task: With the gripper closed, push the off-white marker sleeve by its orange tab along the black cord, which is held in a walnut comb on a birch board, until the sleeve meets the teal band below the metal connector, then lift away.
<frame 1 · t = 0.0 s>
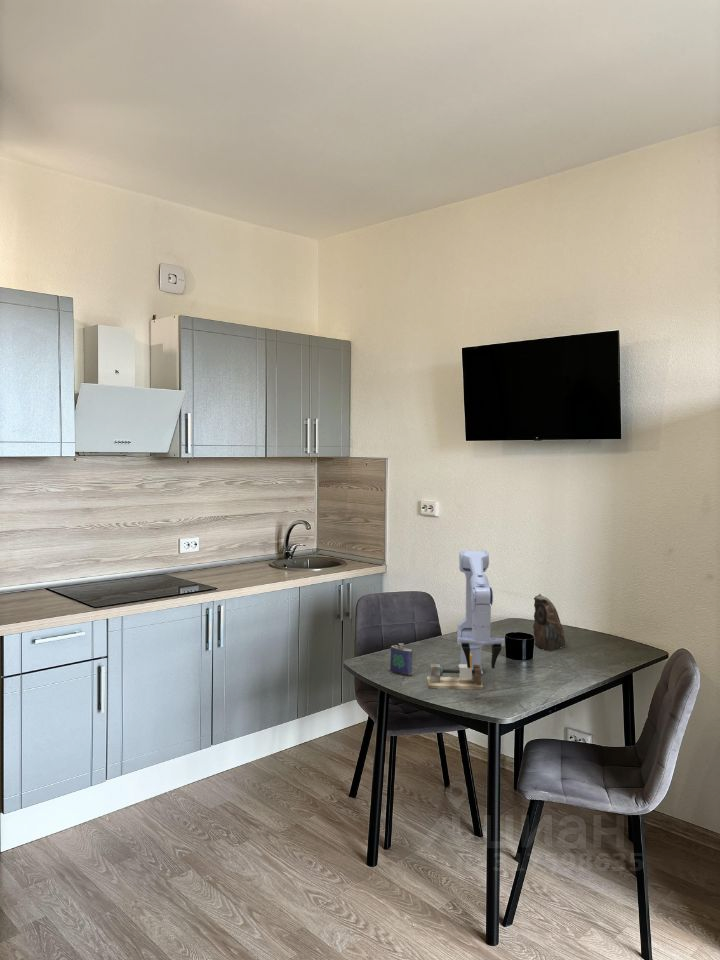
hand: (480, 667, 232), 10 cm above the table, tool pointing down, fingers open, 7 cm apart
flask: (400, 673, 257), on the table
owl: (549, 647, 292), on the table
sleeve: (465, 665, 245), point 6 cm above the table, slide at 0.0 cm
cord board: (454, 684, 245), on the table
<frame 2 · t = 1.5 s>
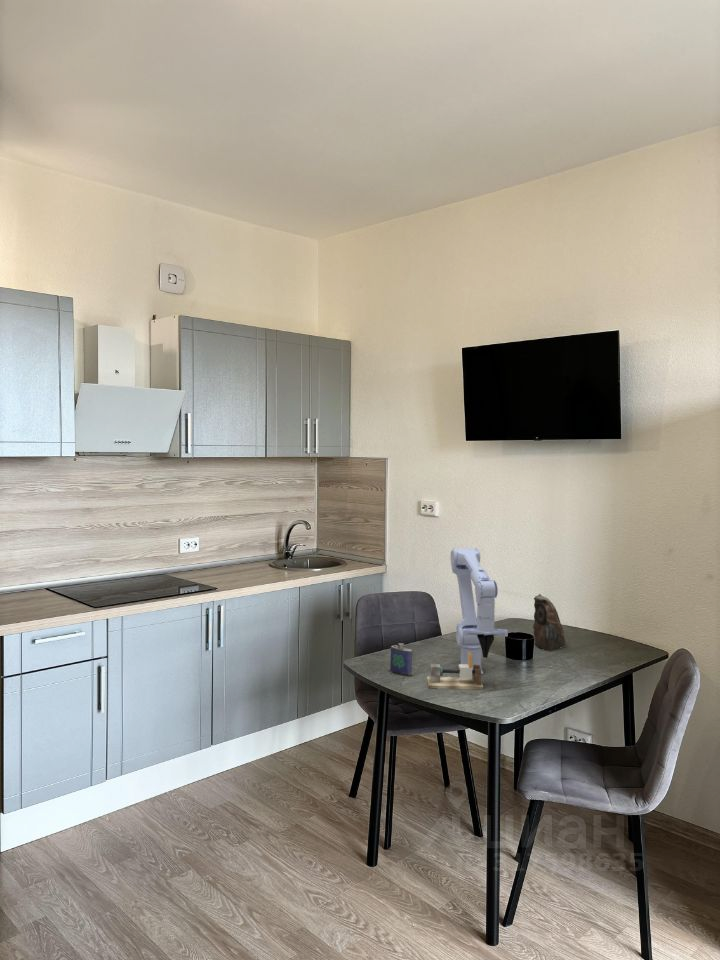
hand: (485, 656, 244), 10 cm above the table, tool pointing down, fingers closed
nothing on the table moved.
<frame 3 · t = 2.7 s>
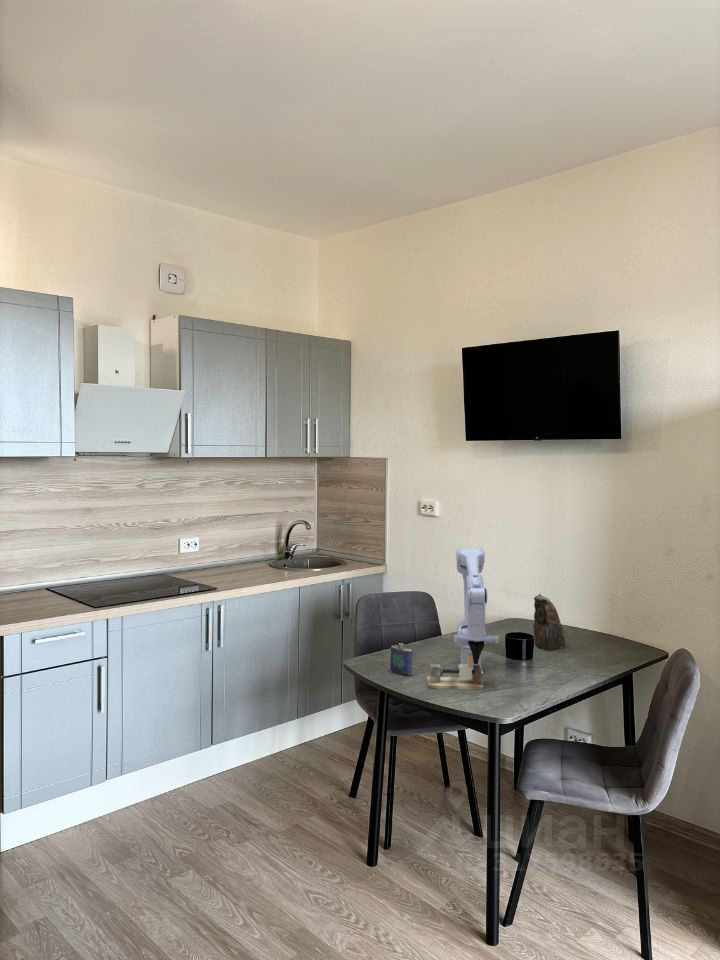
hand: (475, 663, 245), 7 cm above the table, tool pointing down, fingers closed
sleeve: (465, 665, 245), point 6 cm above the table, slide at 0.1 cm, touching gripper
everything else where it was.
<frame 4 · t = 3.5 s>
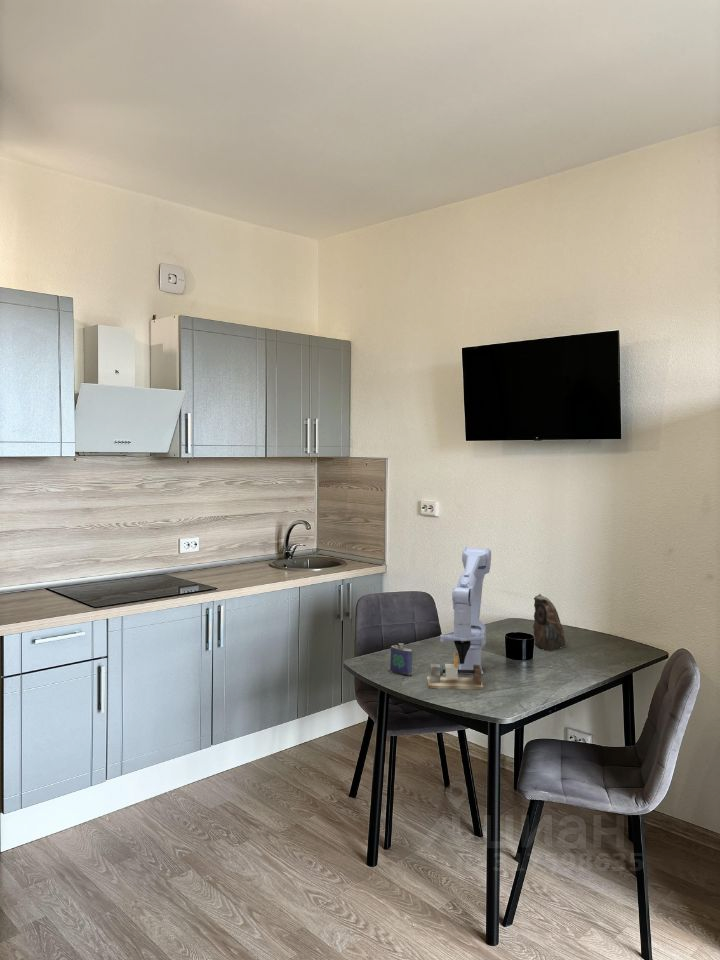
hand: (461, 663, 245), 7 cm above the table, tool pointing down, fingers closed
sleeve: (451, 665, 245), point 7 cm above the table, slide at 4.7 cm, touching gripper
everything else where it was.
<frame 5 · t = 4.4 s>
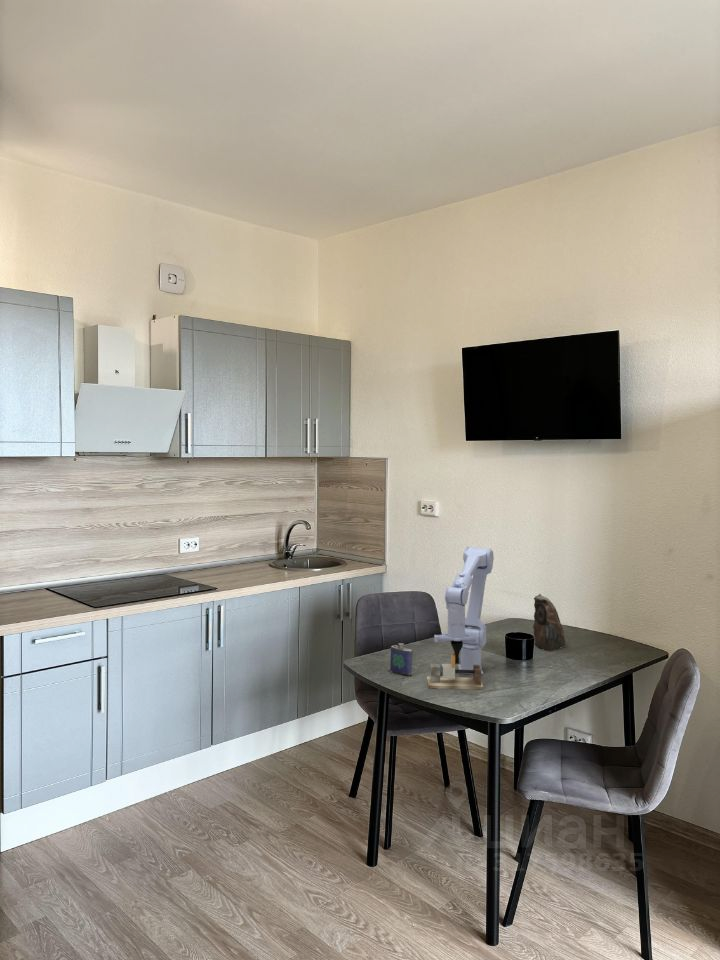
hand: (456, 663, 245), 7 cm above the table, tool pointing down, fingers closed, pressing on sleeve
sleeve: (448, 665, 245), point 7 cm above the table, slide at 5.6 cm, touching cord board, gripper
everything else where it was.
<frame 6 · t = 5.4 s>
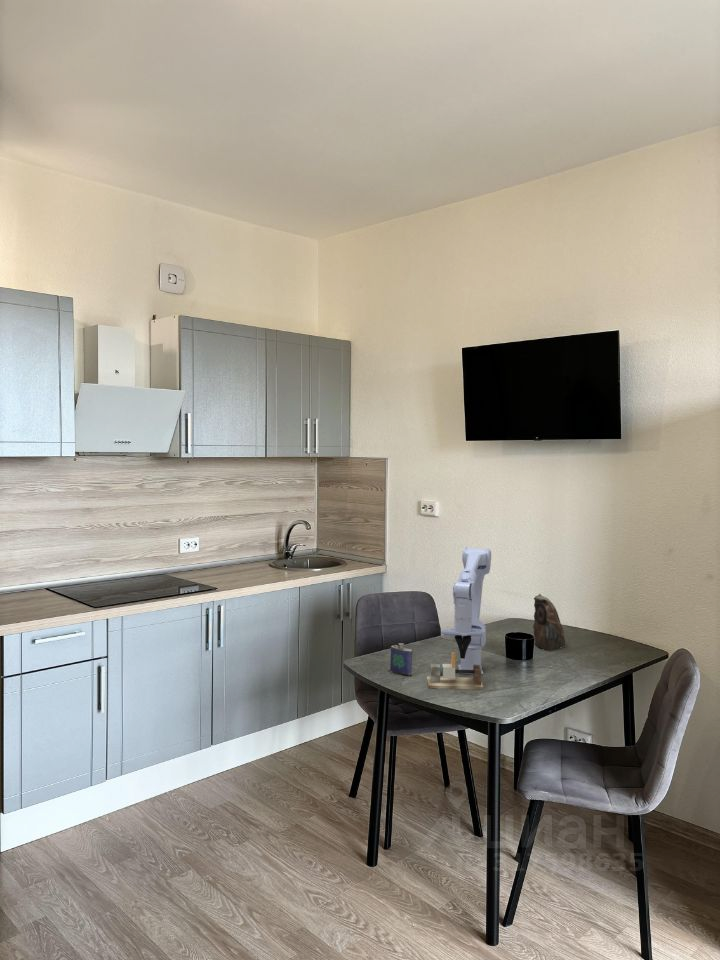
hand: (462, 657, 245), 9 cm above the table, tool pointing down, fingers closed
sleeve: (448, 665, 245), point 7 cm above the table, slide at 5.6 cm
everything else where it was.
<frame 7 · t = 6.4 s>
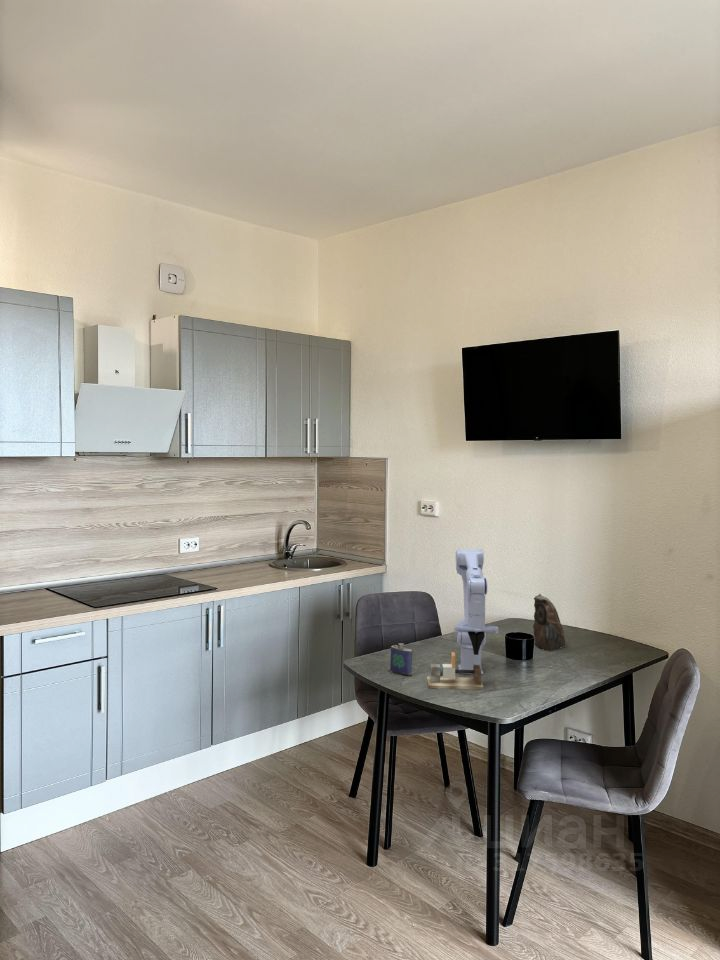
hand: (475, 654, 245), 10 cm above the table, tool pointing down, fingers closed
nothing on the table moved.
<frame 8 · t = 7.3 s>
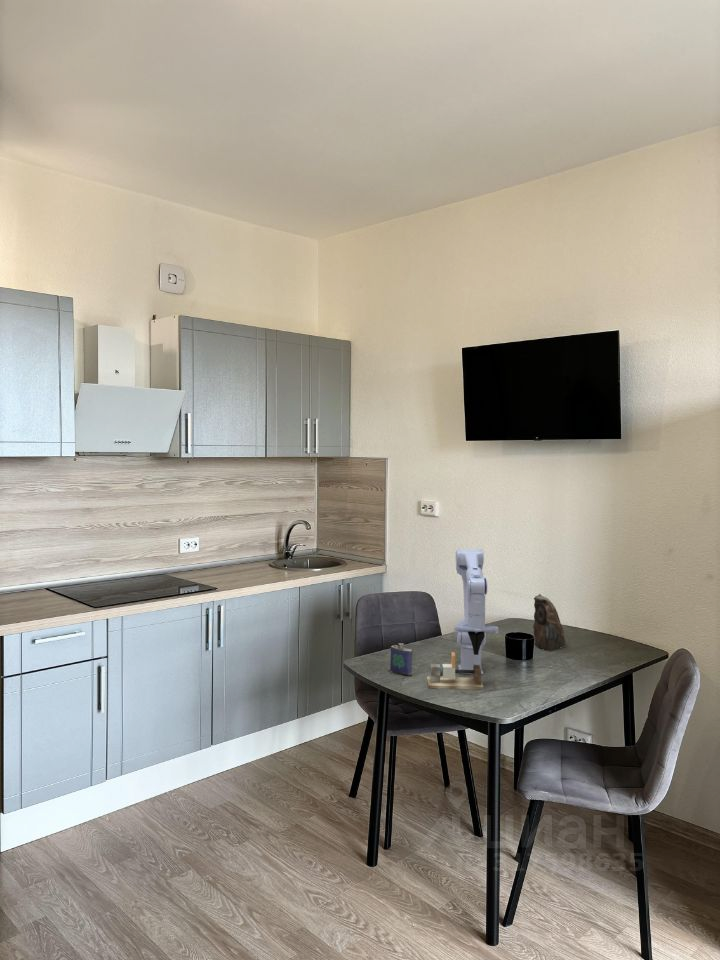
hand: (475, 654, 245), 10 cm above the table, tool pointing down, fingers closed
nothing on the table moved.
at the end: sleeve slide at 5.6 cm; the gripper is holding nothing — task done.
